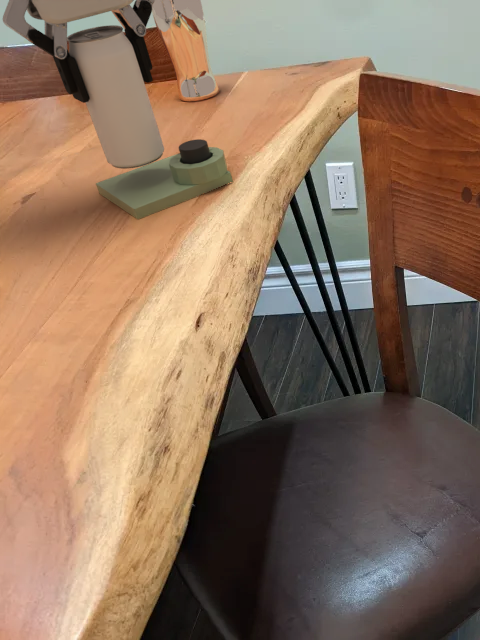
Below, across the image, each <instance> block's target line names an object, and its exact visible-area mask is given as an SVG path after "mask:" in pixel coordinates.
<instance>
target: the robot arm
mask: <svg viewBox="0 0 480 640" xmlns="http://www.w3.org/2000/svg"><path fill="white" fill-rule="evenodd" d="M154 1H155V0H8V1H7V5H6V8H5V10H4V12H3V15H2V22H3V24H4V25H5V26H6V27H7V28H9V29H11V30H12V31H13V32H15V33H16V34H18V35H19V36H21V37H22V38H24V39H25V40H27V41H28V42H29V43H31V44H32V45H34V46H36V47H37V48H38V49H41V50H42V51H43V52H45V53H47V54H48V55H50V56H51V57H52V59H53V60H54V63H55V66H56V69H57V72H58V74H59V76H60V79H61V82H62V84H63V87H64V89H65V91H66V93H67V94H68V95H72V97H73V99H75V100H77V101H78V102H80V103H83V104H84V103H85V102H88V101H89V100H90V98H89V95H88V92H87V89H86V87H85V84H84V81H83V78H82V76H81V73H80V70H79V68H78V65H77V62H76V60H75V58H74V57H72V56H70V54H69V48H68V41H67V37H68V23H70V22H74V21H77V20H82V19H86V18H90V17H94V16H97V15H102V14H105V13H109V12H111V13H112V14H113V15H114V18H116V19H117V21H118V23H119V24H120V26H121V27H122V28H123V32H124V35H125V36H126V37H127V38H128V40H129V41H130V42H131V44H132V46H133V49H134V52H135V55H136V58H137V61H138V64H139V68H140V71H141V74H142V77H143V80H144V83H148V84H149V83H152V82H153V81H154V79H153V75H152V72H151V71H152V70H153V63H152V60H151V57H150V54H149V50H148V46H147V44H146V40H145V36H146V34H147V26H148V23H149V20H150V17H151V15H152V5H153V4H154ZM133 2H134V3H133ZM132 3H133V6H132V5H131V4H132ZM26 12H27V13H28V15H29V16H30V17H31V18H34V19H36V20H40V21H44V33H43V32H42V31H40V30H38V29H37V28H35V27H34V26H32V25H31V24H30V23H28V21H27V20H26V19H25V15H26ZM85 104H86V103H85Z"/></svg>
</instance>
